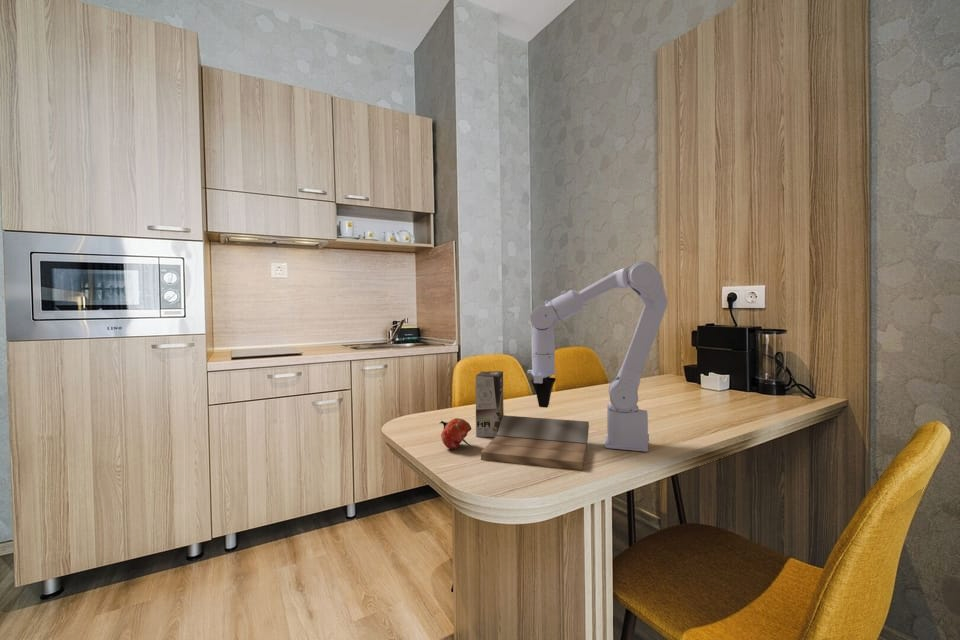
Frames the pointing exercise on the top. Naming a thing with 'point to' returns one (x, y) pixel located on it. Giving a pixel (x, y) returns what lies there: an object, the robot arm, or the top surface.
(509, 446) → the laid planks
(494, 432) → the coffee box
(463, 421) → the red rounded piece
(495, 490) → the top surface
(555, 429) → the charcoal plank
